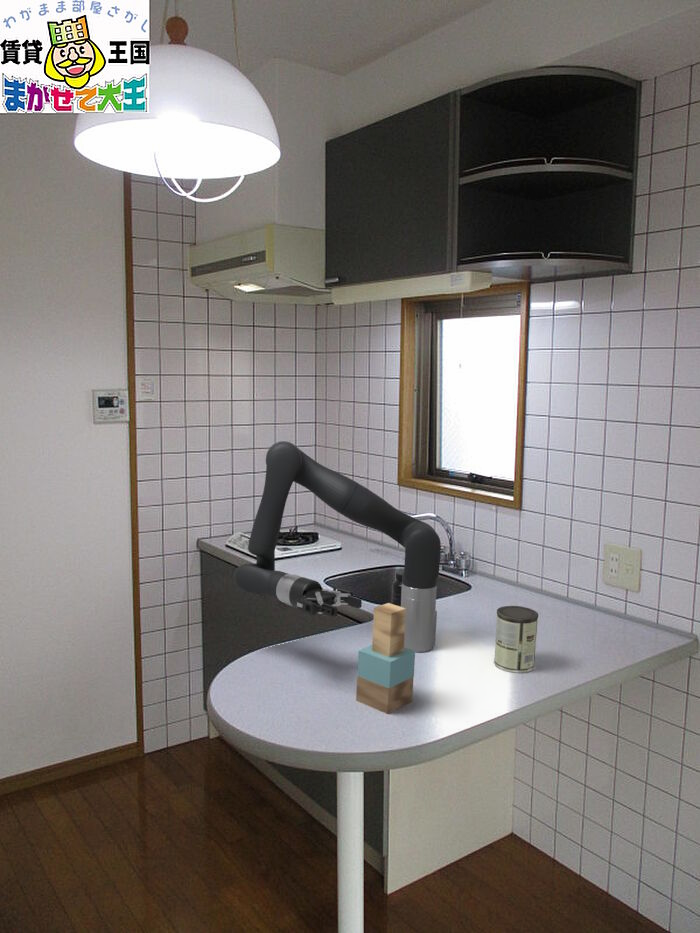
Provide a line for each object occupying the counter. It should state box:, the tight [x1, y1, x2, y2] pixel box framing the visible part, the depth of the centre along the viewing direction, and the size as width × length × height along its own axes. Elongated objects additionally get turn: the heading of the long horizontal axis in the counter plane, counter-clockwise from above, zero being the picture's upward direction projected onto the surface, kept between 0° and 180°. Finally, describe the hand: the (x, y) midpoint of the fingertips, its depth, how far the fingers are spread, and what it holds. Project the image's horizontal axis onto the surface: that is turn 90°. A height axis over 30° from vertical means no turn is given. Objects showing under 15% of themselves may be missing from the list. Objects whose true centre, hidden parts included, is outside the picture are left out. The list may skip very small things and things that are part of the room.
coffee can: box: [493, 605, 539, 674], centre depth 198 cm, size 10×10×14 cm
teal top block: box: [357, 645, 416, 688], centre depth 174 cm, size 9×9×6 cm
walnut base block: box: [355, 675, 414, 715], centre depth 175 cm, size 9×9×6 cm
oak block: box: [371, 602, 406, 657], centre depth 173 cm, size 5×5×10 cm
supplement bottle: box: [391, 570, 404, 607], centre depth 236 cm, size 7×7×12 cm
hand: (348, 608), depth 180 cm, fingers open, 8 cm apart
